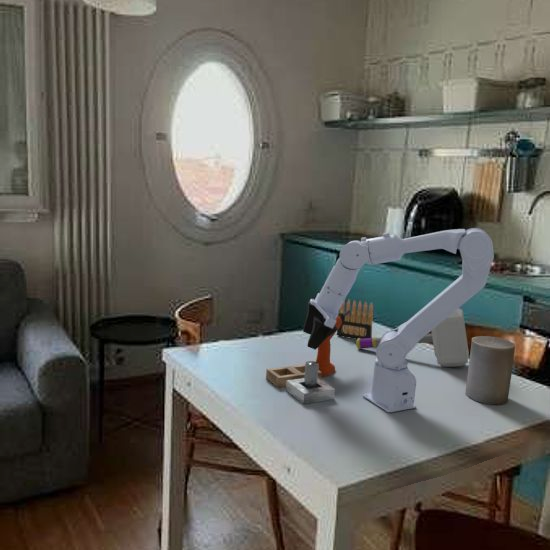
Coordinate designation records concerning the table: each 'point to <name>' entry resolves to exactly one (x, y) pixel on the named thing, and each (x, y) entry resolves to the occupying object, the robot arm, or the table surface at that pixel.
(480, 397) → the pillar candle
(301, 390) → the socket block
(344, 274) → the robot arm
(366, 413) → the table surface
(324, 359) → the toy drill
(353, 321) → the ammunition clip
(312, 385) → the grey metal cylinder
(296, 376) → the rack
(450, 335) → the hammer
